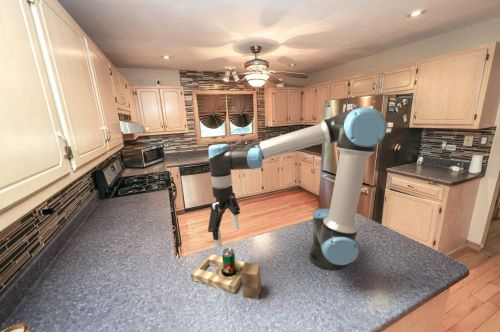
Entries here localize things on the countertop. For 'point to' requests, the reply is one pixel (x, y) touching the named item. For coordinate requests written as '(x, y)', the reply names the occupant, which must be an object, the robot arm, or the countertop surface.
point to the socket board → (218, 274)
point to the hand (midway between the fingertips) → (227, 237)
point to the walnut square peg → (251, 280)
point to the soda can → (229, 262)
